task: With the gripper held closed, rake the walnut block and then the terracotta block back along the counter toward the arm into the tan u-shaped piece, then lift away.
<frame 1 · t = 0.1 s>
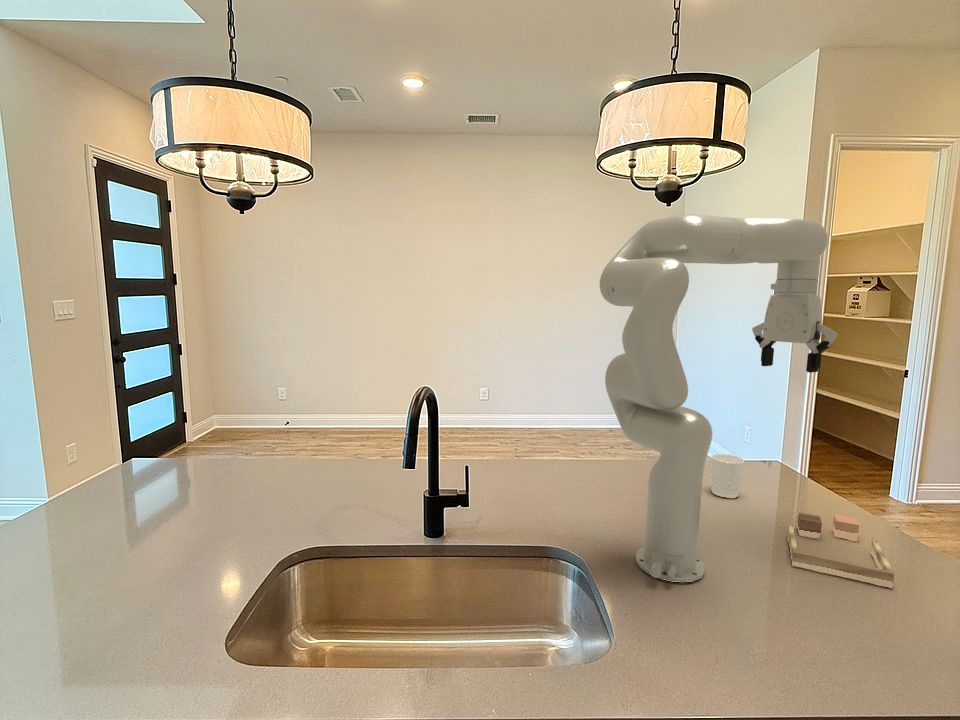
hand: (788, 368, 108), 37 cm above the table, tool pointing down, fingers open, 9 cm apart
tan u-shaped piece: (834, 560, 101), on the table
white cup: (724, 495, 134), on the table
terracotta block: (844, 536, 111), on the table
walnut block: (808, 534, 112), on the table
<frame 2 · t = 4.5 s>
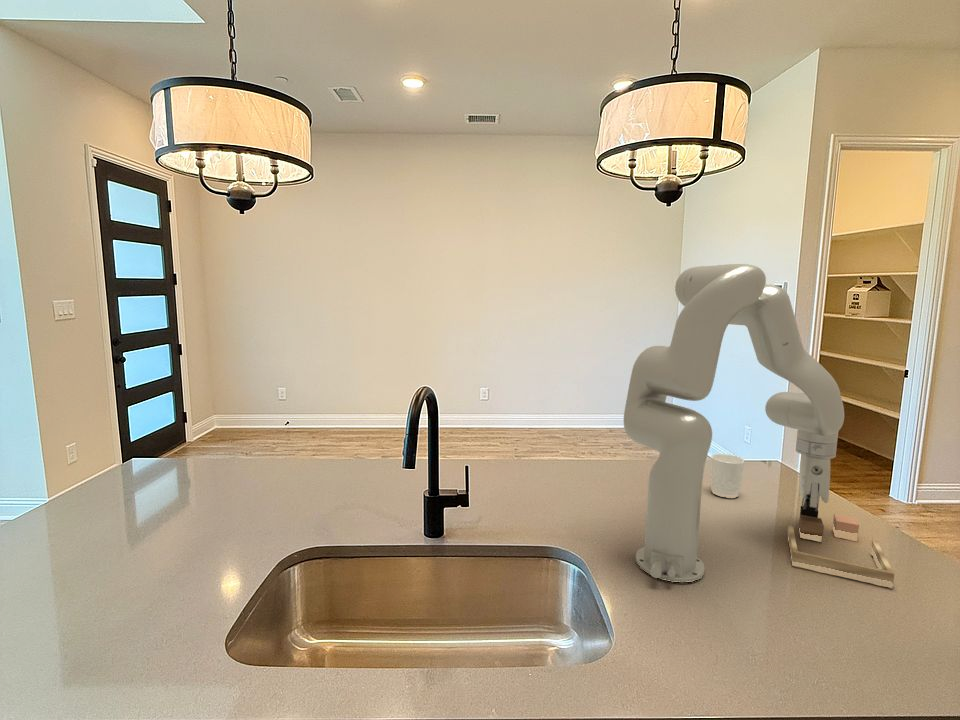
hand: (807, 524, 114), 1 cm above the table, tool pointing down, fingers closed
walnut block: (809, 537, 111), on the table, touching gripper
everything else where it was.
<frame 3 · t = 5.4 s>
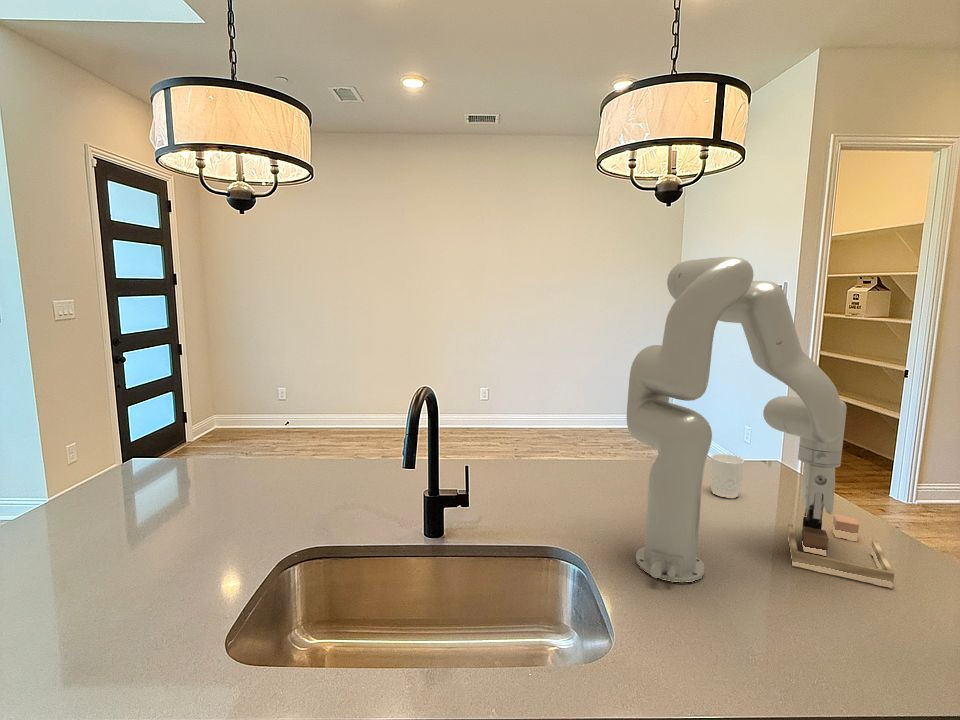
hand: (810, 536, 108), 1 cm above the table, tool pointing down, fingers closed
walnut block: (813, 550, 105), on the table, touching gripper
everything else where it was.
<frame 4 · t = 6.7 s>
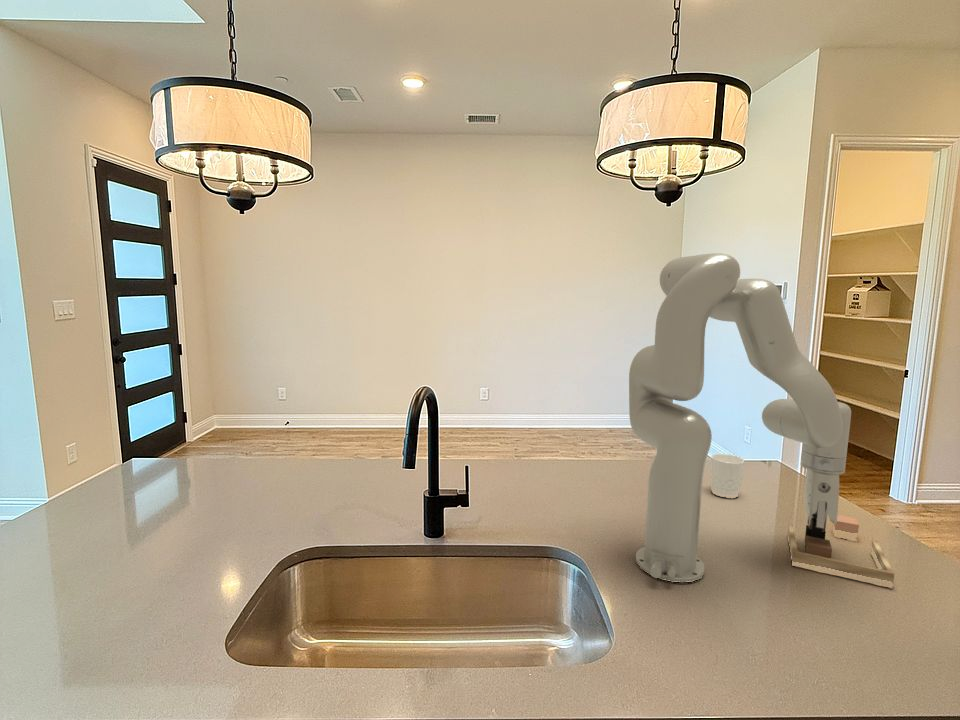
hand: (814, 546, 104), 1 cm above the table, tool pointing down, fingers closed
walnut block: (816, 560, 101), on the table, touching gripper
everything else where it was.
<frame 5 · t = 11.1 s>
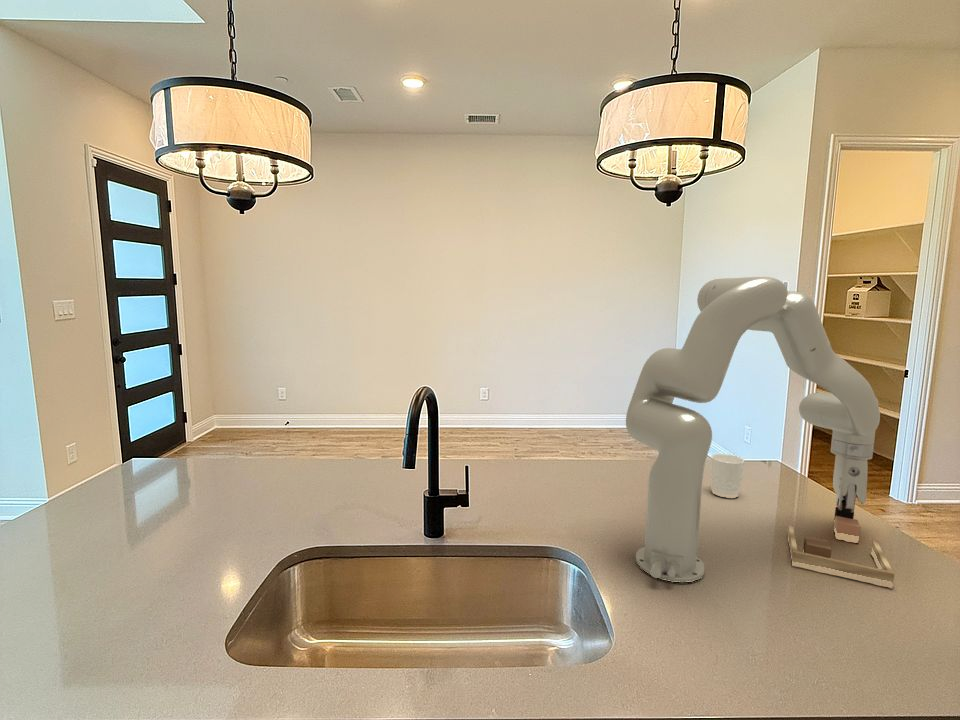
hand: (842, 526, 114), 1 cm above the table, tool pointing down, fingers closed
terracotta block: (845, 538, 110), on the table, touching gripper
walnut block: (815, 561, 101), on the table
everything else where it was.
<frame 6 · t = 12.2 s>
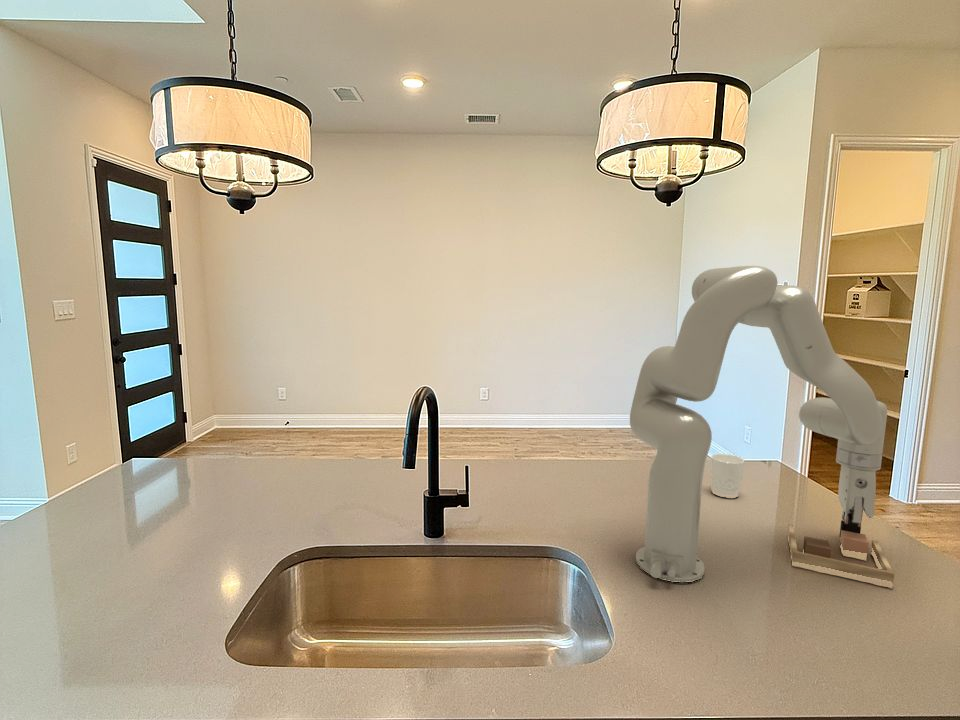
hand: (849, 540, 107), 1 cm above the table, tool pointing down, fingers closed
terracotta block: (852, 554, 103), on the table, touching gripper
everything else where it was.
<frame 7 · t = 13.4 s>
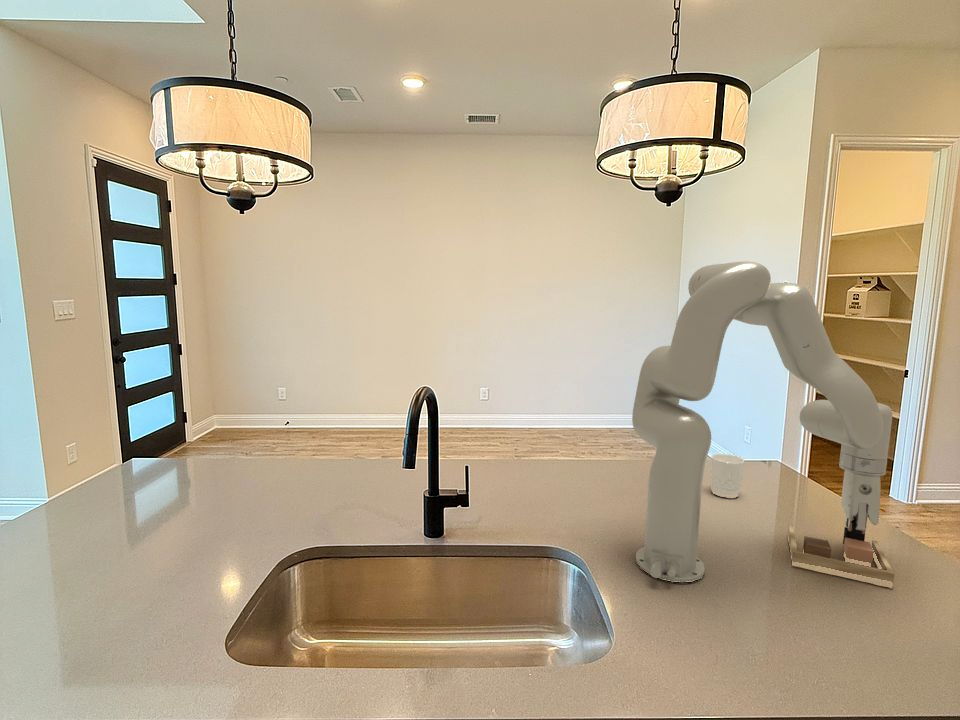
hand: (852, 548, 103), 1 cm above the table, tool pointing down, fingers closed
terracotta block: (856, 563, 100), on the table, touching gripper
everything else where it was.
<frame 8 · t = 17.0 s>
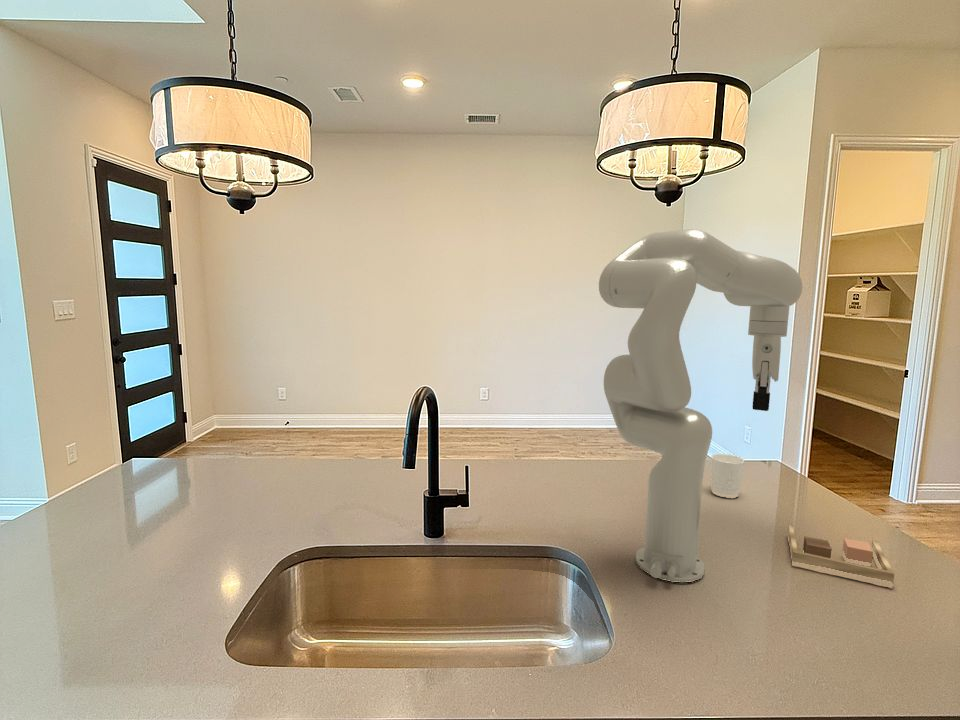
hand: (760, 409, 114), 27 cm above the table, tool pointing down, fingers closed
terracotta block: (855, 563, 100), on the table
everything else where it was.
at the end: walnut block inside the target area on the tan u-shaped piece (3.8 cm from its centre), point 0.0 cm above the tan u-shaped piece's base; terracotta block inside the target area on the tan u-shaped piece (3.8 cm from its centre), point 0.0 cm above the tan u-shaped piece's base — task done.
